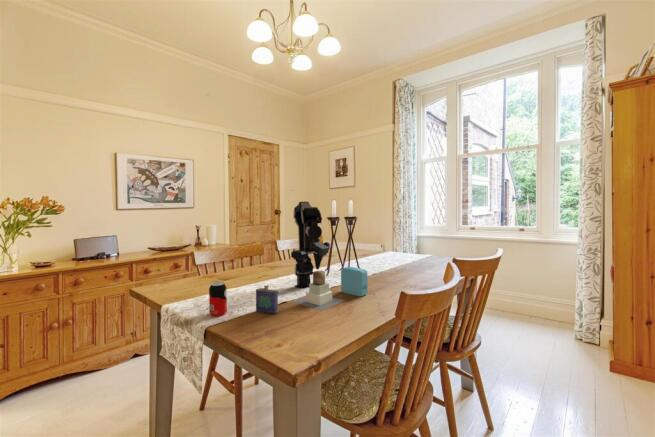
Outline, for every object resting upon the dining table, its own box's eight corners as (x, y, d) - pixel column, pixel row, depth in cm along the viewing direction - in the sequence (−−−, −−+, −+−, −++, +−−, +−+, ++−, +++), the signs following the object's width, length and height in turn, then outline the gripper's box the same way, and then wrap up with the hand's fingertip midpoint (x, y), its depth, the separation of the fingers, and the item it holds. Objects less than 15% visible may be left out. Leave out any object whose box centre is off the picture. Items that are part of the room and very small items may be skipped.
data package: (367, 295, 140) (367, 269, 140) (362, 297, 137) (362, 271, 136) (346, 290, 148) (346, 266, 147) (340, 292, 145) (340, 267, 144)
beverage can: (217, 318, 113) (216, 286, 112) (206, 315, 116) (205, 284, 116) (230, 313, 119) (229, 282, 118) (219, 310, 122) (218, 280, 121)
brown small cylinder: (310, 284, 130) (310, 272, 130) (318, 281, 134) (318, 270, 134) (319, 286, 127) (319, 274, 127) (327, 283, 131) (327, 272, 131)
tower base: (305, 301, 130) (305, 292, 130) (318, 297, 137) (318, 288, 136) (320, 305, 125) (320, 296, 125) (332, 300, 132) (332, 291, 131)
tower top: (309, 292, 130) (309, 284, 130) (318, 289, 135) (318, 281, 135) (319, 295, 127) (319, 286, 126) (329, 291, 131) (328, 283, 131)
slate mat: (292, 303, 130) (292, 302, 130) (317, 294, 142) (317, 293, 142) (321, 311, 120) (321, 310, 120) (345, 301, 132) (345, 300, 132)
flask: (279, 312, 119) (278, 285, 119) (275, 314, 116) (275, 287, 116) (257, 310, 122) (257, 283, 121) (254, 312, 119) (253, 285, 118)
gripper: (309, 240, 120) (310, 279, 121) (338, 235, 135) (338, 270, 136) (290, 237, 127) (290, 274, 128) (319, 233, 142) (319, 266, 143)
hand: (310, 271), depth 134 cm, fingers open, 9 cm apart
